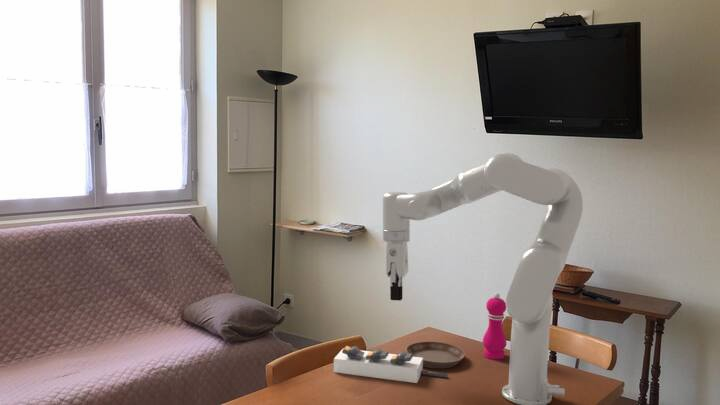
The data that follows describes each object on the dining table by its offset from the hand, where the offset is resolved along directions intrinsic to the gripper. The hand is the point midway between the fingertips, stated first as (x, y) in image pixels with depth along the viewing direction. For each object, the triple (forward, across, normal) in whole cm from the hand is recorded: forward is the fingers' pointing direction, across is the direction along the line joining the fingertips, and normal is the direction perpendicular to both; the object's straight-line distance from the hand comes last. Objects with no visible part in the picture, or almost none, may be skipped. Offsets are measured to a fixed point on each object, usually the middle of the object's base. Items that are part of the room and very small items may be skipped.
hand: (396, 299), depth 175 cm
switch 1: (+16, -5, +12) cm, 21 cm away
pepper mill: (+22, +20, -27) cm, 40 cm away
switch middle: (+16, -5, +5) cm, 18 cm away
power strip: (+21, -3, +1) cm, 21 cm away
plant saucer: (+22, +12, -10) cm, 26 cm away
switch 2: (+17, -5, -3) cm, 18 cm away
